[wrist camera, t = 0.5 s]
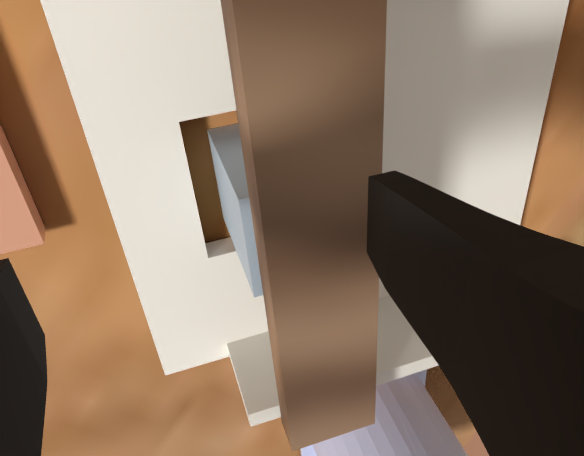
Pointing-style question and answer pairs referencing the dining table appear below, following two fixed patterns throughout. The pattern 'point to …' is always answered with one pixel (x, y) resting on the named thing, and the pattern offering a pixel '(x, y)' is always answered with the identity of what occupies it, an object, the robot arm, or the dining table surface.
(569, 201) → the dining table surface
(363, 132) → the sliding bar
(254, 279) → the slate block
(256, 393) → the puzzle board
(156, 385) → the dining table surface
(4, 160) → the salmon pink tile
